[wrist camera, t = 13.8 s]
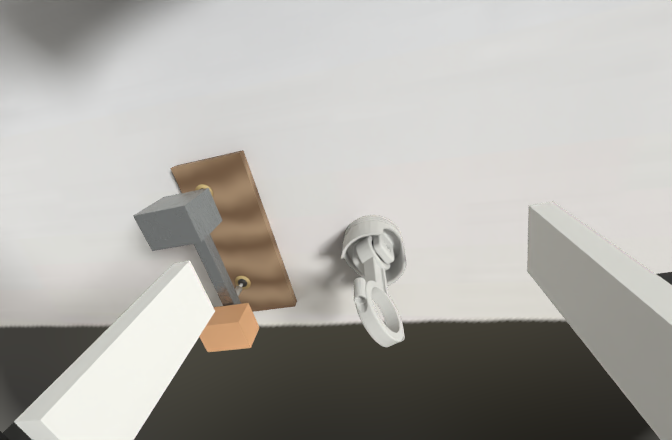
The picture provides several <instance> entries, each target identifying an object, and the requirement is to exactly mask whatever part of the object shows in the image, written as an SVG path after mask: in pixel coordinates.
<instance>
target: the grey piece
mask: <svg viewBox="0 0 672 440" xmlns="http://www.w3.org/2000/svg"><path fill="white" fill-rule="evenodd" d="M134 218H135V220H136V222H137V224H138V226H139V227H140V229H141V231H142V233H143V235H144V237H145V238H146V240H147V242H148V244H149V246H150V247H151V249H152V251H155V250H161V249H167V248H172V247H178V246H184V245H190V244H194V246H195V248H196V250H197V252H198V254H199V256H200V258H201V260H202V262H203V264H204V266H205V268H206V270H207V273H208V275H209V277H210V279H211V281H212V283H213V285H214V287H215V289H216V291H217V293H218V295H219V298H220V300H221V302H222V304H223V306H228V305H236V304H241V301H240V299H239V297H238V295H237V293H236V290H235V288H234V286H233V284H232V281H231V279H230V277H229V275H228V273H227V270H226V268H225V266H224V264H223V261H222V259H221V257H220V255H219V252H218V250H217V248H216V246H215V244H214V241H213V239H212V237H211V235H210V233H211V232H212V231H213V230H214V229H215V228H216V227H217V226H218V225H219V224H220V223H221V222H222V218H221V216H220V213H219V211H218V209H217V206H216V204H215V202H214V199H213V197H212V195H211V192H210V190H209V188H205V189H200V190H196V191H191V192H186V193H181V194H176V195H172V196H167V197H163V198H161V199H160V200H158V201H156V202H155V203H153V204H152V205H150V206H148V207H147V208H145V209H144V210H142V211H140V212H139V213H137V214H135V215H134Z"/></svg>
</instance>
